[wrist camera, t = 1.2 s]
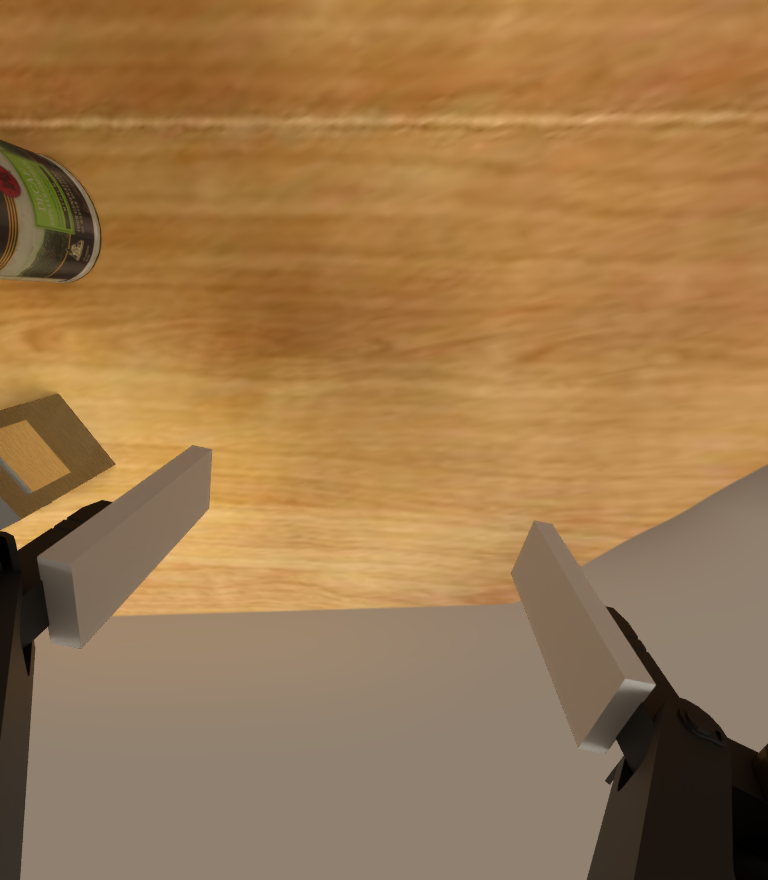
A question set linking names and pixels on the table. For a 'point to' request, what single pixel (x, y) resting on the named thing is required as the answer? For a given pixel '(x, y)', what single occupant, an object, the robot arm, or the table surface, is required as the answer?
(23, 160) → the coffee can
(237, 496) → the table surface
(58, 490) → the block
